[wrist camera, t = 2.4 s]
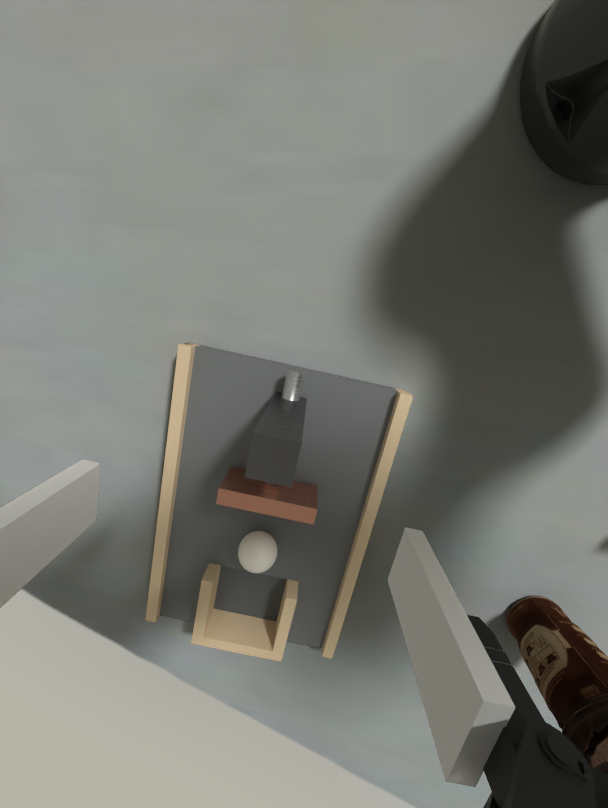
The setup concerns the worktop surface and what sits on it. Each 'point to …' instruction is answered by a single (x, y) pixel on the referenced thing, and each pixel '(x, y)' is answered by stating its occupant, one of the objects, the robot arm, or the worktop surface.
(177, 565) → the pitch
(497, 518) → the worktop surface
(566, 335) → the worktop surface
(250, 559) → the ball
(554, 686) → the coffee cup
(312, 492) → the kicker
